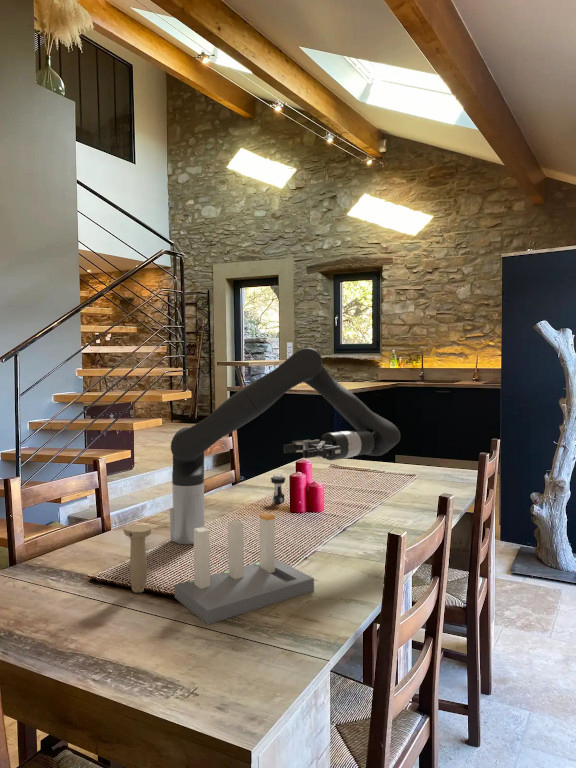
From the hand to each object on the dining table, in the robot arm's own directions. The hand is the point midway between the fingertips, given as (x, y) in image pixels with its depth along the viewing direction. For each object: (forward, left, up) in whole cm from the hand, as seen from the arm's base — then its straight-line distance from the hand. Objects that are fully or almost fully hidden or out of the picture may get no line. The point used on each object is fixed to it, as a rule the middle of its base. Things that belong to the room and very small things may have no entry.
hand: (293, 451), depth 152 cm
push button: (-20, +56, -30) cm, 67 cm away
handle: (-32, -25, -30) cm, 50 cm away
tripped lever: (-4, -11, -28) cm, 30 cm away
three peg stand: (-7, -21, -30) cm, 37 cm away
